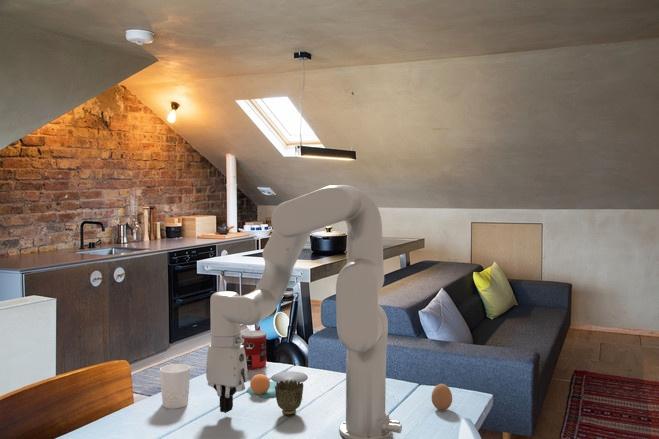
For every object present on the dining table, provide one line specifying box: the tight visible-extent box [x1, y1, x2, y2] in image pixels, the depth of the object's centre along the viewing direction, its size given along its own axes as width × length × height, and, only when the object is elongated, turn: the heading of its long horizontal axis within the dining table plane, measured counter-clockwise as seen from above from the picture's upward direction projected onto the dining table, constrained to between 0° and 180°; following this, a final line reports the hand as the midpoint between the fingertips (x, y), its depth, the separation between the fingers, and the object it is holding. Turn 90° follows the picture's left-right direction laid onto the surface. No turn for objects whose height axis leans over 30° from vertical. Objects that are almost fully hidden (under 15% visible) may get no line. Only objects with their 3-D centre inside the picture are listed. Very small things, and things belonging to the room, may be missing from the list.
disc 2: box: [271, 370, 308, 384], centre depth 187 cm, size 11×11×1 cm
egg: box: [431, 383, 453, 412], centre depth 161 cm, size 5×5×7 cm
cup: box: [275, 380, 305, 417], centre depth 157 cm, size 8×7×8 cm
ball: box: [249, 373, 271, 394], centre depth 172 cm, size 6×6×6 cm
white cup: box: [159, 363, 191, 410], centre depth 164 cm, size 8×8×10 cm
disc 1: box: [247, 381, 279, 399], centre depth 176 cm, size 13×13×1 cm
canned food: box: [241, 330, 267, 371], centre depth 198 cm, size 8×8×11 cm
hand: (226, 410), depth 156 cm, fingers closed
